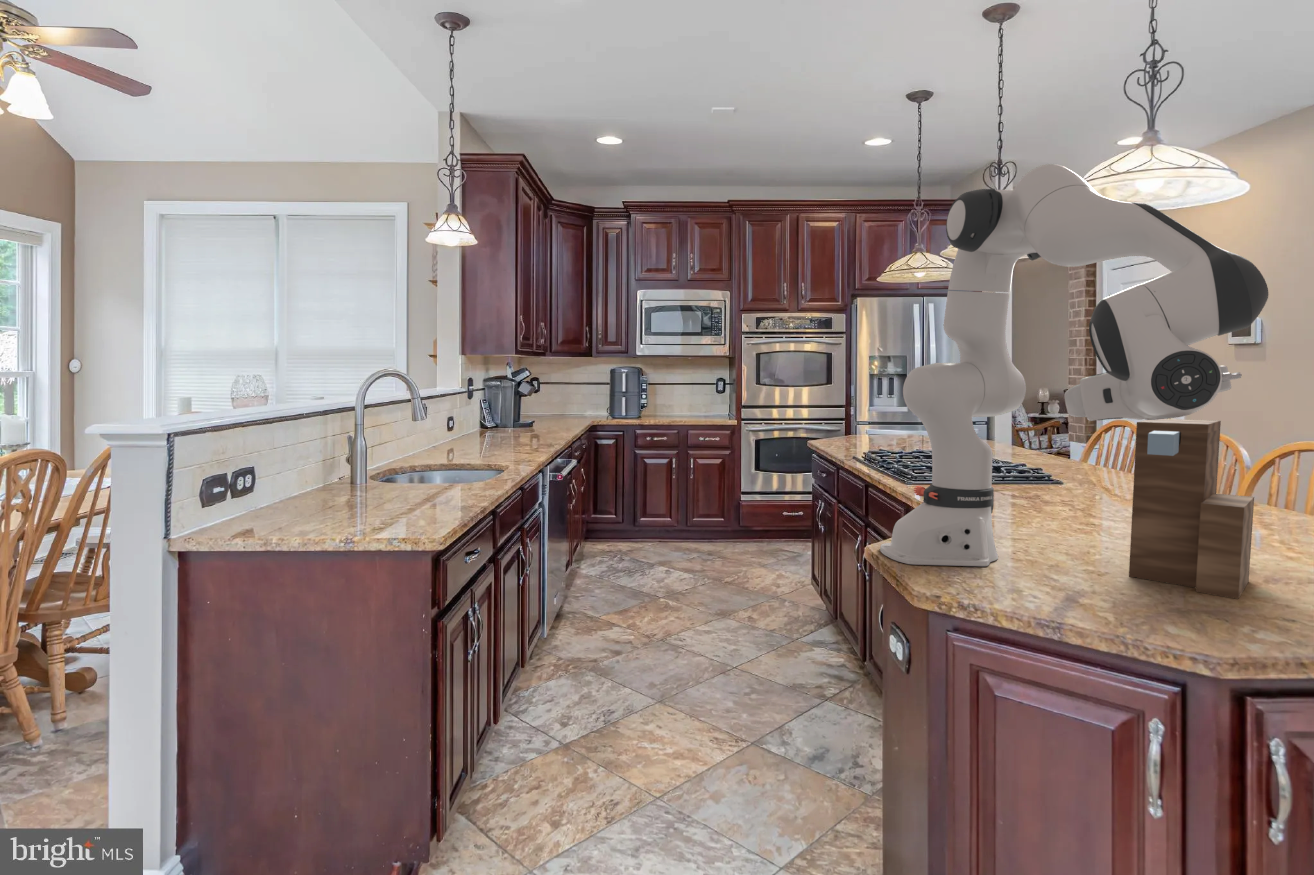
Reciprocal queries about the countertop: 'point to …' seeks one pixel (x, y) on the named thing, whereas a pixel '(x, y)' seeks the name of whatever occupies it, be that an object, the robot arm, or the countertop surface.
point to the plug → (1163, 442)
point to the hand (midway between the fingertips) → (1133, 394)
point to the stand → (1188, 514)
